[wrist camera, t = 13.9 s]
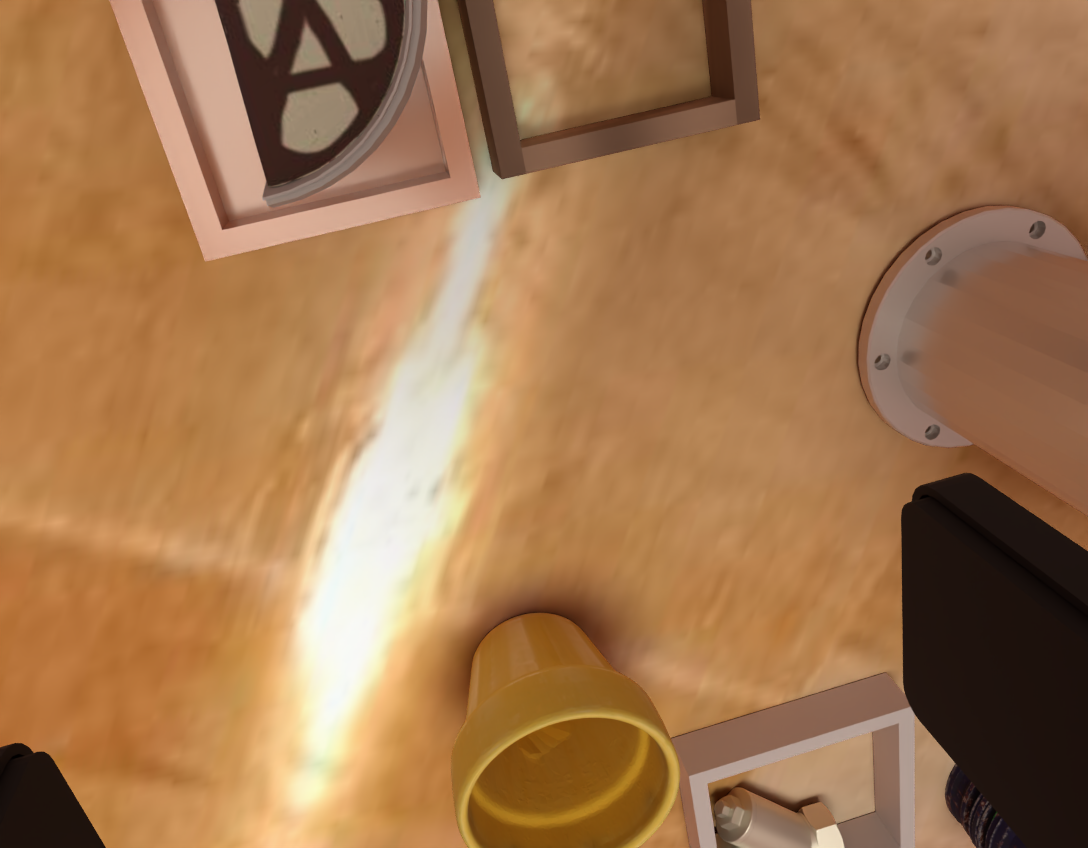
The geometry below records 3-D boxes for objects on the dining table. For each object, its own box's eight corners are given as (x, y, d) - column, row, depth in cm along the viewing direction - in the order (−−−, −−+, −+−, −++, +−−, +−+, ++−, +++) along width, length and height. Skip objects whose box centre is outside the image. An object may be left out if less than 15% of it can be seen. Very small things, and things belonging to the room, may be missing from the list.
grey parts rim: (885, 672, 53) (914, 705, 50) (889, 817, 59) (915, 854, 56) (671, 738, 52) (688, 776, 49) (695, 880, 57) (712, 922, 55)
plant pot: (574, 750, 51) (621, 898, 42) (408, 716, 47) (421, 869, 38) (653, 608, 48) (721, 735, 39) (482, 561, 44) (514, 688, 35)
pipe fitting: (694, 785, 55) (707, 863, 57) (717, 831, 51) (729, 913, 53) (811, 750, 56) (819, 828, 58) (842, 793, 52) (849, 875, 54)
